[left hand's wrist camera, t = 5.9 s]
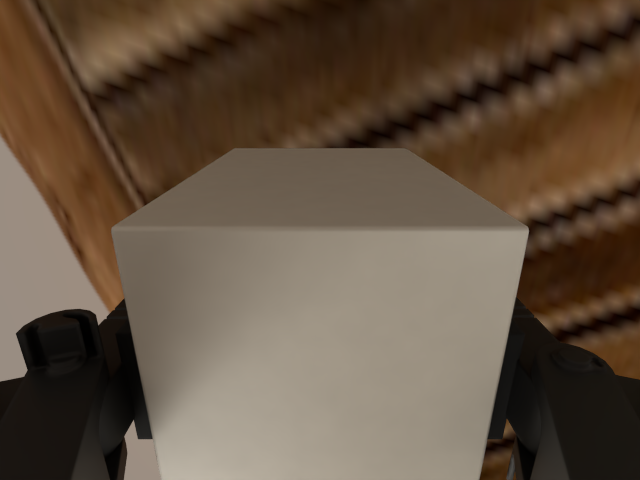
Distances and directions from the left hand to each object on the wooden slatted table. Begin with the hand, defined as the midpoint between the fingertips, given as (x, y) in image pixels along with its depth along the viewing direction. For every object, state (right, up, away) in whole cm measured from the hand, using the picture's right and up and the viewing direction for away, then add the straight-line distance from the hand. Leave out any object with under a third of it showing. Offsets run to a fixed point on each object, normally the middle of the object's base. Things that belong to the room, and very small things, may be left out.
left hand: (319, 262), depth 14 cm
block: (0, +1, +2) cm, 2 cm away
